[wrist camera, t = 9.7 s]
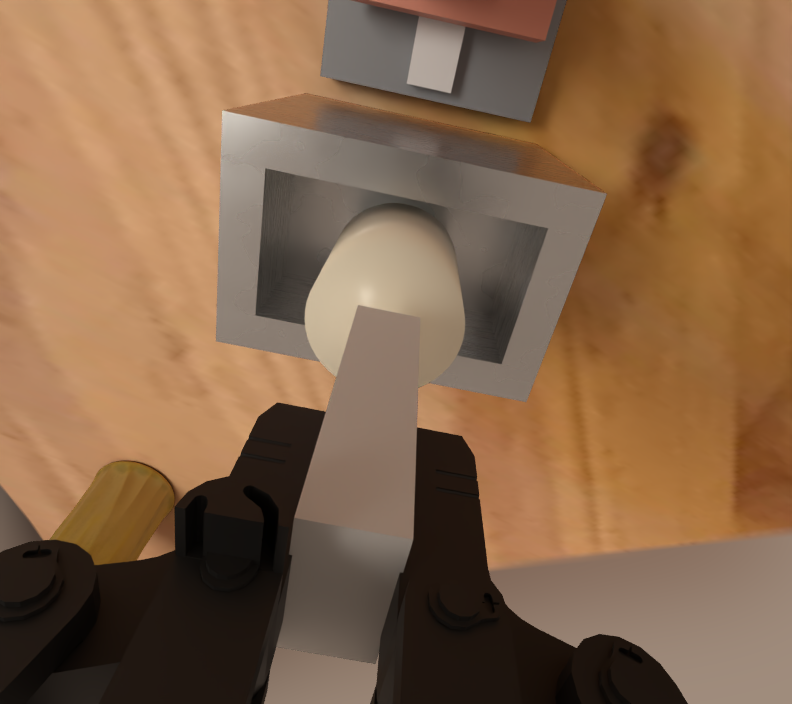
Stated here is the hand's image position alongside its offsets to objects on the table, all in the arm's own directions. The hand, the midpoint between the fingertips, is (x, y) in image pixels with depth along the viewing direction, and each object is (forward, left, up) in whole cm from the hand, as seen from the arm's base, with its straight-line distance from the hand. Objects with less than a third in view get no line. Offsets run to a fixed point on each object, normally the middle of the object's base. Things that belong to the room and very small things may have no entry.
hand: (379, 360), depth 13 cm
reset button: (0, 0, -7) cm, 7 cm away
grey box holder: (0, 0, -18) cm, 18 cm away
